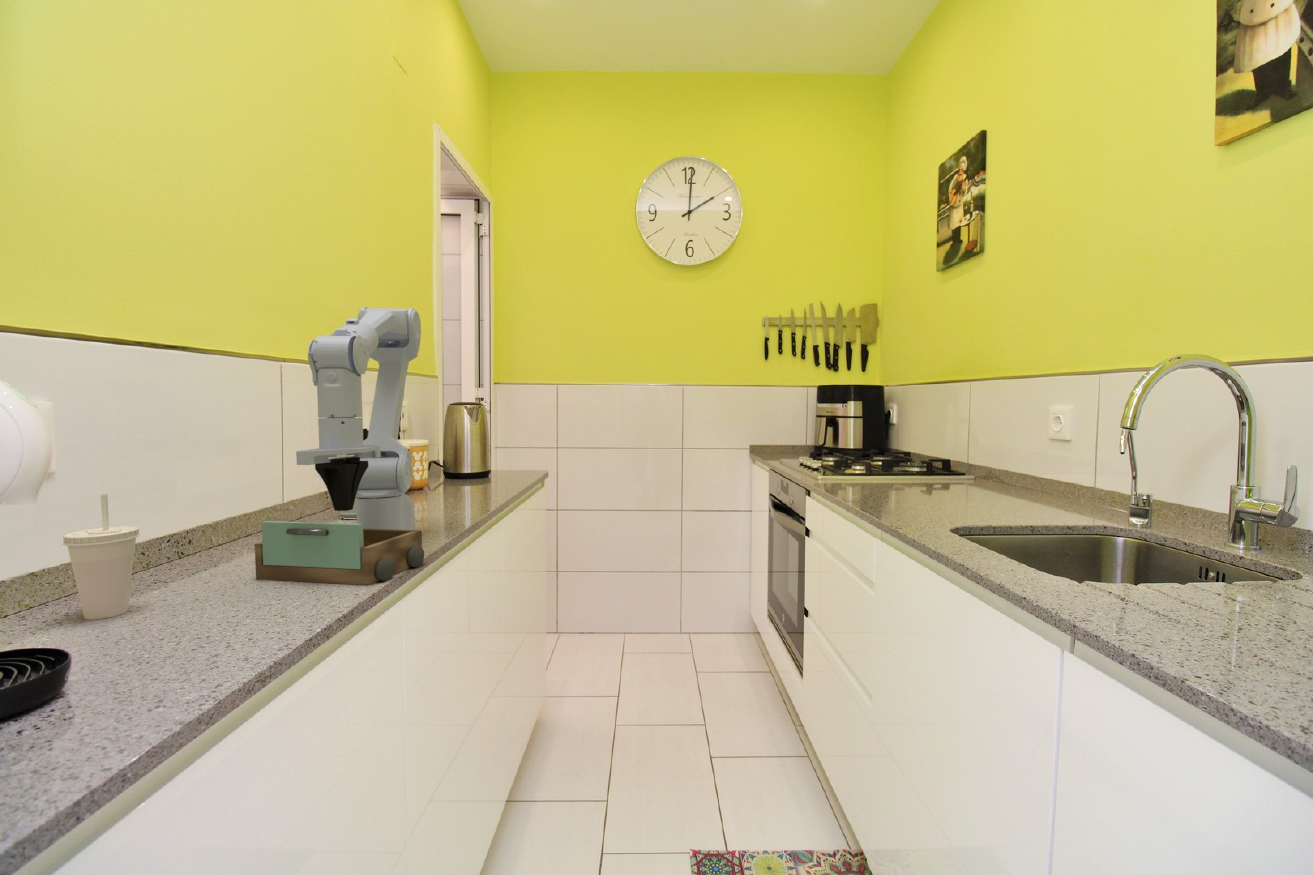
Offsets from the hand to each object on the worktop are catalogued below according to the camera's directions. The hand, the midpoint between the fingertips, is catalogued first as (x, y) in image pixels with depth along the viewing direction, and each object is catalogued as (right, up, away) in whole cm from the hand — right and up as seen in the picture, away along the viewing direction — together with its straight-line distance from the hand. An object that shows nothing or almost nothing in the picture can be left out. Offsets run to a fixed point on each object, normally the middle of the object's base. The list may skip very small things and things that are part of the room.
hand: (343, 510), depth 85 cm
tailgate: (-1, -7, -6) cm, 9 cm away
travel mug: (-22, -8, +45) cm, 50 cm away
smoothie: (-18, -10, -18) cm, 27 cm away
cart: (0, -9, 0) cm, 9 cm away
